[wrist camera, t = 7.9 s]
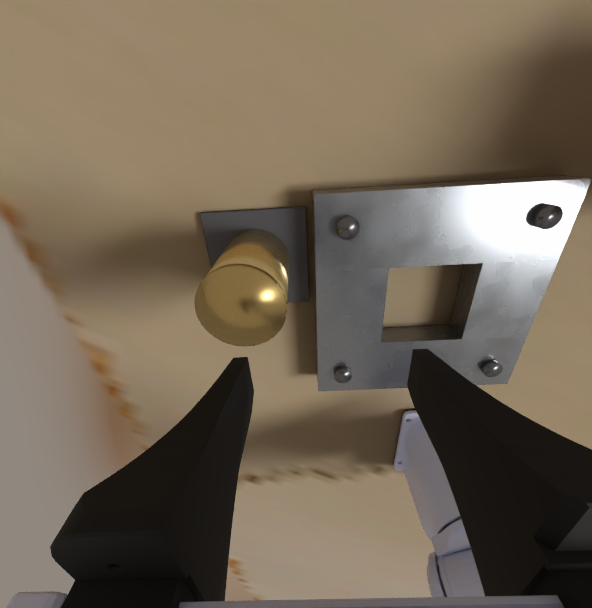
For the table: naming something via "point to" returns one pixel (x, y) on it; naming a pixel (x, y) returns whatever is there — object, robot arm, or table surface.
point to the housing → (431, 252)
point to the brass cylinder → (246, 290)
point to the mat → (275, 220)
